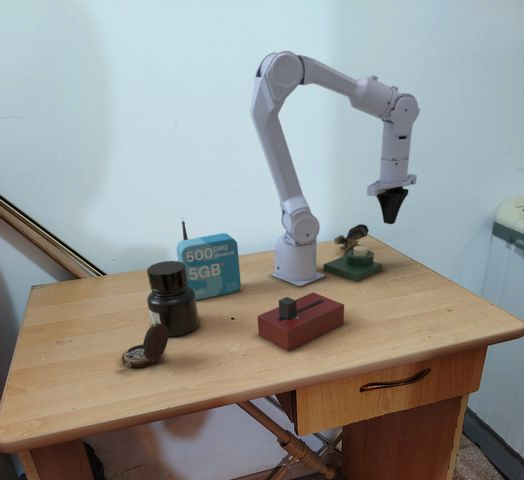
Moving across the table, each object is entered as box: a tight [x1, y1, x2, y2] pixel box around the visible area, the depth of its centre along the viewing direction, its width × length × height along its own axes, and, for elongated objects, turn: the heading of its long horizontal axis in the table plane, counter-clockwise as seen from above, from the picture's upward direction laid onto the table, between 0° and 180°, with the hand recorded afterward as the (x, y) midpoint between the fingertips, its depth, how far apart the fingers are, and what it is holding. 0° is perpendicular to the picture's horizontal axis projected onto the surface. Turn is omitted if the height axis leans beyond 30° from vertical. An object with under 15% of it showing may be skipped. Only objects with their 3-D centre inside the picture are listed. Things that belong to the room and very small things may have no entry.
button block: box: [323, 249, 383, 283], centre depth 109 cm, size 10×10×4 cm
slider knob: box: [278, 296, 297, 320], centre depth 82 cm, size 2×2×3 cm
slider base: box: [257, 292, 345, 352], centre depth 85 cm, size 8×14×4 cm, turn 130°
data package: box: [176, 232, 242, 301], centre depth 100 cm, size 12×4×12 cm, turn 112°
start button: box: [353, 245, 369, 257], centre depth 109 cm, size 3×3×2 cm
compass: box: [119, 323, 169, 371], centre depth 78 cm, size 8×8×7 cm
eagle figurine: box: [333, 223, 370, 256], centre depth 119 cm, size 8×7×9 cm
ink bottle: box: [146, 260, 200, 337], centre depth 87 cm, size 10×9×12 cm
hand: (389, 222), depth 105 cm, fingers closed
